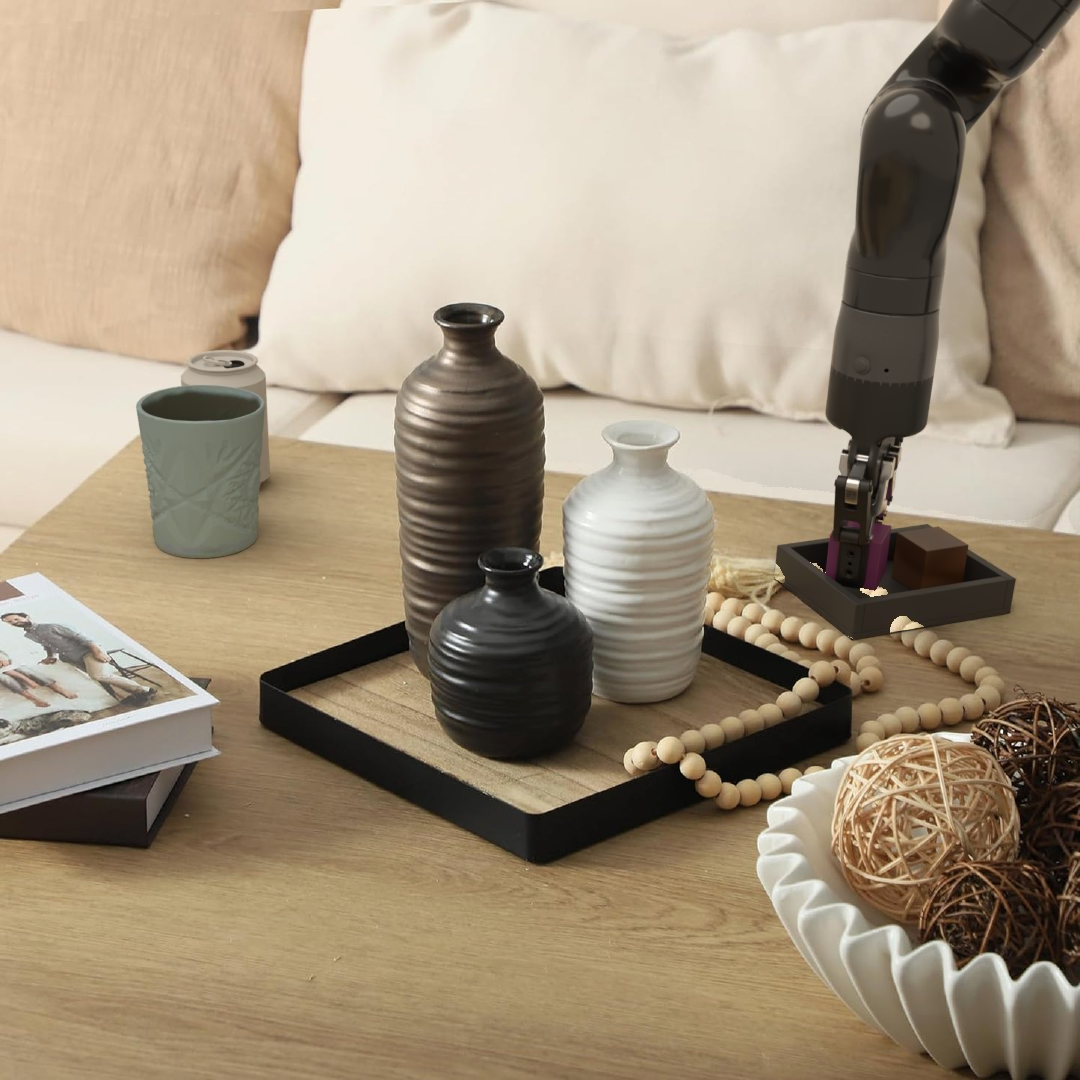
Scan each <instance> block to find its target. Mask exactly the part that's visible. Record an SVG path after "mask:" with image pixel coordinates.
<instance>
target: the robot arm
mask: <svg viewBox="0 0 1080 1080" xmlns="http://www.w3.org/2000/svg"><path fill="white" fill-rule="evenodd" d="M1079 9H1080V0H951V1H950V3H949V5H948V6H947V8H946V10H945V11H944V12H943V14H942V16H941V18H939V21H938V22H937V24H936V25H935V26H934V27H933V28H932V29H931V30H930V32H928V33H927V35H926V36H925V37H924V38H923V39H921V41H920V43H919V44H917V46H916V47H915V48H913V50H912V51H911V52H910V54H908V55H907V57H906V58H905V59H904V60H903V62H901V64H900V65H899V66H898V67H897V68H896V70H895V71H894V72H893V73H892V74H891V76H889V78H888V79H887V81H886V82H885V83H884V84H883V86H882V87H881V88H880V89H879V90H878V91H877V93H876V94H875V96H874V97H873V99H871V101H870V102H869V104H868V106H867V107H866V110H865V112H864V114H863V116H862V120H861V124H860V135H859V137H860V139H859V142H860V143H859V157H858V170H857V183H856V184H857V185H856V186H857V187H856V199H855V213H854V214H855V215H854V227H853V231H852V232H851V235H850V239H849V243H848V248H847V253H846V261H845V266H844V267H845V268H844V276H843V282H842V283H843V285H842V294H841V303H840V308H839V311H838V315H837V319H836V322H835V328H834V333H833V341H832V351H831V360H830V370H829V378H828V385H827V395H826V403H825V411H824V412H825V413H824V414H825V418H826V420H827V421H828V423H829V424H831V425H832V426H833V427H834V428H836V429H838V430H843V431H844V432H845V433H847V434H849V436H850V437H851V438H850V439H849V440H848V443H847V448H842V450H841V452H840V457H839V464H838V471H839V472H840V474H837V477H836V478H835V480H834V484H833V485H834V486H833V487H834V488H835V489H834V505H833V506H834V507H833V525H832V526H833V529H832V531H833V532H832V531H831V532H832V536H833V541H838V542H840V543H839V551H838V560H837V568H836V576H835V581H836V582H837V583H839V584H840V585H841V586H845V587H850V588H855V589H860V588H862V587H863V585H864V583H865V580H866V572H867V564H868V557H869V549H870V544H871V542H872V541H873V535H872V534H873V529H874V523H878V524H883V521H885V519H886V517H888V513H889V512H888V507H889V506H890V505H891V503H892V502H893V500H894V499H893V498H894V495H893V493H894V491H895V488H896V481H897V469H898V467H899V465H900V463H901V460H902V451H903V449H902V444H903V442H904V438H909V437H912V436H916V435H918V434H920V433H922V432H923V431H924V430H925V428H926V427H927V424H928V419H929V412H930V405H931V398H932V392H933V386H934V385H933V384H934V377H935V370H936V364H937V356H938V349H939V343H940V341H939V340H940V307H941V301H942V295H943V289H944V288H943V287H944V281H945V273H946V265H947V252H948V251H947V249H948V247H947V246H948V234H949V230H950V227H951V223H952V220H953V219H952V218H953V215H954V211H955V206H956V202H957V198H958V193H959V189H960V184H961V180H962V179H961V178H962V173H963V167H964V162H965V154H966V148H967V147H966V146H967V135H968V134H969V133H970V132H971V130H972V128H973V127H974V126H976V124H977V122H978V121H979V120H980V119H981V117H982V116H983V115H984V114H985V113H986V111H987V110H989V108H990V106H991V105H992V104H993V102H994V101H995V100H996V99H997V97H998V96H999V95H1000V94H1001V92H1002V91H1003V90H1004V89H1005V88H1006V87H1007V86H1008V85H1010V83H1012V82H1014V81H1016V80H1018V79H1020V78H1021V77H1022V76H1023V75H1025V73H1026V72H1028V70H1029V69H1030V68H1031V67H1033V65H1035V63H1036V62H1037V61H1038V60H1039V58H1040V57H1041V56H1042V54H1044V53H1045V52H1044V51H1045V50H1047V49H1048V47H1049V46H1050V45H1051V44H1052V42H1053V41H1054V40H1055V39H1056V38H1057V36H1058V35H1059V34H1060V33H1061V32H1062V30H1063V29H1064V28H1065V26H1066V25H1067V24H1068V23H1069V22H1070V20H1071V19H1072V18H1073V16H1074V15H1075V14H1076V13H1077V12H1078V10H1079ZM848 521H852V522H857V523H859V524H860V528H857V527H851V526H848Z"/></svg>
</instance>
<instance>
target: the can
mask: <svg viewBox="0 0 1080 1080" xmlns="http://www.w3.org/2000/svg"><path fill="white" fill-rule="evenodd" d="M258 363H259V359H258V357H257V356H255V355H254V354H252V353H250V352H247V351H242V350H233V349H231V350H230V349H219V350H215V349H214V350H207V351H203V352H199V353H195V354H193V355H191V356H189V358H188V359H187V360H186V365H187V366H188V367H187V368H186V369H185V370H184V371H183V372H182V374H180V386H189V385H217V386H227V387H235V388H239V389H244V390H248V391H251V392H253V393H255V394H257V395H259V396H260V397H261V398H262V399H263V401H264V403H265V412H264V425H263V432H262V436H263V440H262V453H261V458H260V467H259V469H260V473H261V477H260V486H261V485H262V484H263V483H264V482H265V481H266V480H267V479H268V478H269V477H270V475H271V463H270V444H269V441H270V439H269V421H268V420H269V418H268V397H267V396H268V395H267V377H266V376H267V375H266V372H265V371H264V370H263V369H262V368H261V367H260V366H259V365H258Z"/></svg>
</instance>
